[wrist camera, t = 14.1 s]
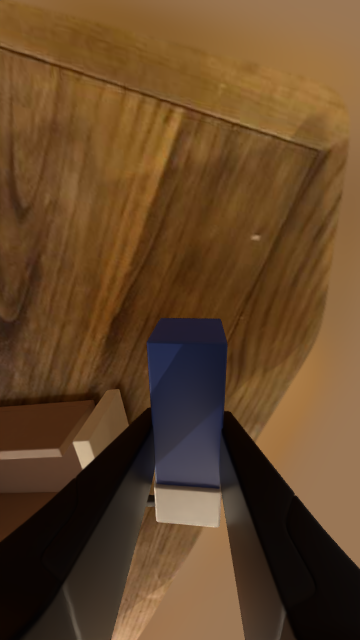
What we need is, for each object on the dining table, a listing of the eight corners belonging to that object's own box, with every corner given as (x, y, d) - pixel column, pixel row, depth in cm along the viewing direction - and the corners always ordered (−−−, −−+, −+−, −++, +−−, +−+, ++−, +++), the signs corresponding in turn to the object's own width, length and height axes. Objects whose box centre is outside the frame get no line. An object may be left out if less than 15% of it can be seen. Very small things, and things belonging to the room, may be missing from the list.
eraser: (158, 317, 8) (143, 342, 6) (222, 318, 8) (230, 344, 6) (165, 465, 10) (156, 523, 8) (215, 469, 10) (219, 529, 8)
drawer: (165, 384, 20) (151, 437, 14) (186, 489, 23) (181, 563, 18) (-56, 403, 23) (-137, 452, 17) (-8, 493, 26) (-63, 557, 21)
